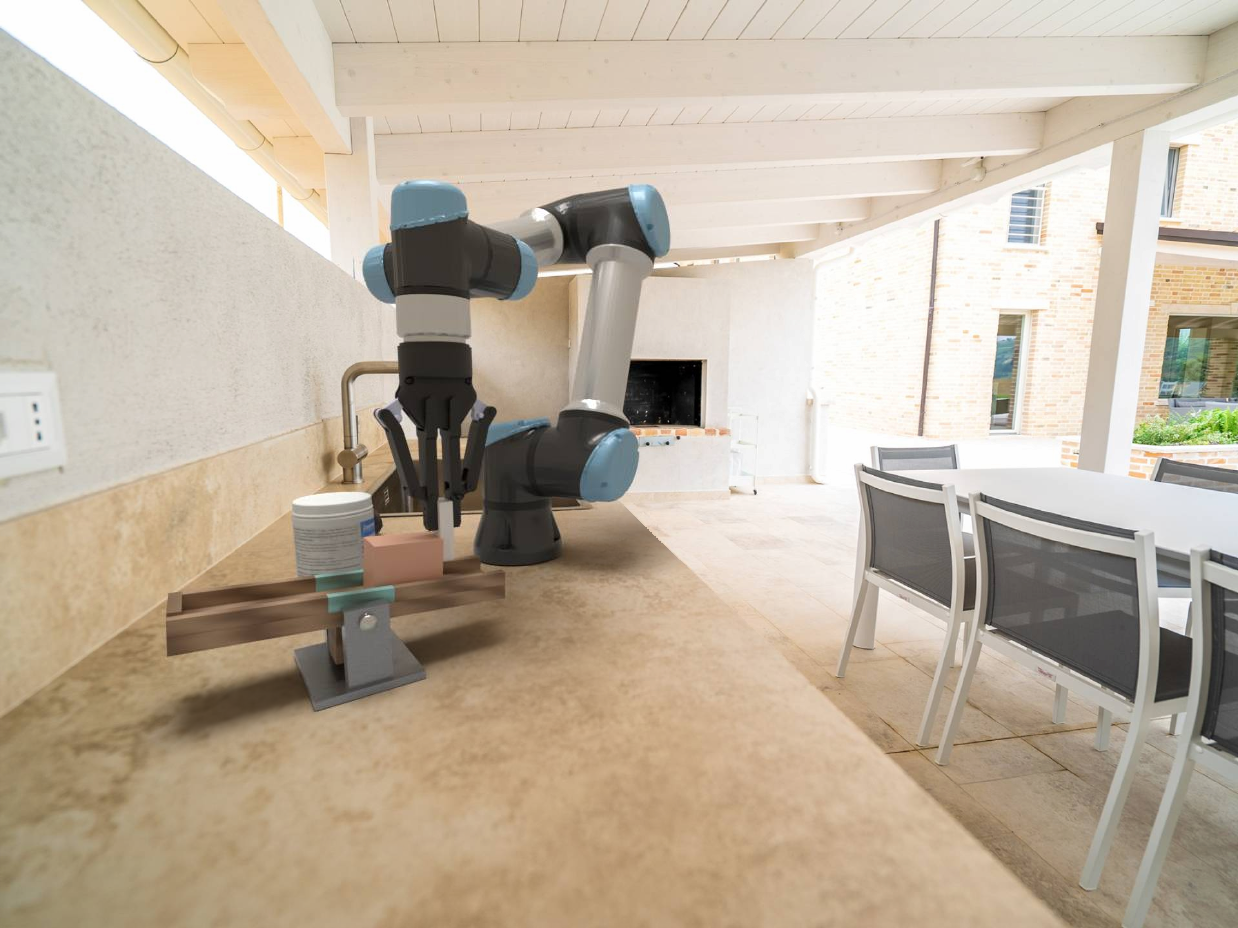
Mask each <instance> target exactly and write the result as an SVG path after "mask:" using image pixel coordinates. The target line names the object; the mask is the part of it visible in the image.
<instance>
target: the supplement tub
mask: <svg viewBox="0 0 1238 928" xmlns="http://www.w3.org/2000/svg"><path fill="white" fill-rule="evenodd" d="M372 501H373V500H372V495H371V494H370V493H367V492H363V491H336V492H325V493H324V492H323V493H318V494H317V493H316V494H310V495H305V496H302V497H298V498H296V499H294V500H292V503H291V505H292V506H291V507H292V508H291V509H292V511H291V522H292V536H293V545H294V557H295V568H296V577H304V576H313V575H321V574H329V573H337V572H345V571H353V570H362V569H363V550H364V537H371V536H375V525H374V511H373V508H374V504H373V502H372Z"/></svg>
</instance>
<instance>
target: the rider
mask: <svg viewBox="0 0 1238 928" xmlns="http://www.w3.org/2000/svg"><path fill="white" fill-rule="evenodd" d="M439 578H443V539H442V538H440V537H438V536H437V535H435V534H433V533H432V531H428V530H426V531H414V532H406V533H405V532H404V533H394V534H384V535H376V536H371V537H364V550H363V588H364V589H368V588H375V587H382V586H389V585H397V584H404V583H411V582H418V581H425V580H432V579H439Z"/></svg>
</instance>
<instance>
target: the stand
mask: <svg viewBox="0 0 1238 928" xmlns="http://www.w3.org/2000/svg"><path fill="white" fill-rule="evenodd" d="M340 611H341V625H342V639H343V654H344V663H342V664H337V665H336V664H335V662H334V660H333V658H332V656H331V654H330V652H329V650H328V629H325V630H323V631H324V641H323V642H320V643H317V644H312V645H308V646H304V647H300V648H295V649H293V655H294V656H293V657H294V659H295V662H296V665H297V667H298V670H299V673H300V675H301V678H302V680H303V683H304V685H305V689H306V690H307V694H308V696H309V699H310V701H311V703H312V707H313V709H314V711H315V712H317V711H321V710H325V709H328V708H331V707H334V706H338V705H341V704H344V703H348V702H351V701H355V700H357V699H361V698H364V697H368V696H371V695H376V694H378V693H381V692H384V691H387V690H390V689H395V688H397V687H398V688H399V687H401V686H403V685H407V684H410V683H414V682H418V681H420V680H424V679H425V680H426V679H427V671H426V669H425V667H424V666H422V664H421V663H420V662H419V660H418V659H417V658H416V657H415V655H414V654H413V652H411V651H410V650H409V648H408V647H407V645H405V643H404V642H403V641H402V639H400V637H399V636H398V634H396V632H395V631H394V630H393V628H391V618H390V611H389V603H388V602H387V600H386V599H385V598H384V599H379V600H374V601H369V602H365V603H360V604H355V605H350V606H346V607H341V608H340Z"/></svg>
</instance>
